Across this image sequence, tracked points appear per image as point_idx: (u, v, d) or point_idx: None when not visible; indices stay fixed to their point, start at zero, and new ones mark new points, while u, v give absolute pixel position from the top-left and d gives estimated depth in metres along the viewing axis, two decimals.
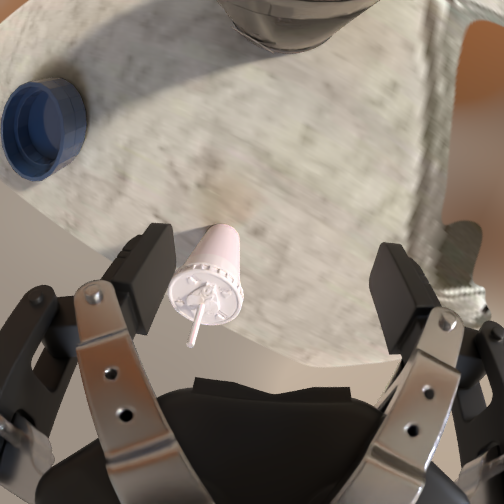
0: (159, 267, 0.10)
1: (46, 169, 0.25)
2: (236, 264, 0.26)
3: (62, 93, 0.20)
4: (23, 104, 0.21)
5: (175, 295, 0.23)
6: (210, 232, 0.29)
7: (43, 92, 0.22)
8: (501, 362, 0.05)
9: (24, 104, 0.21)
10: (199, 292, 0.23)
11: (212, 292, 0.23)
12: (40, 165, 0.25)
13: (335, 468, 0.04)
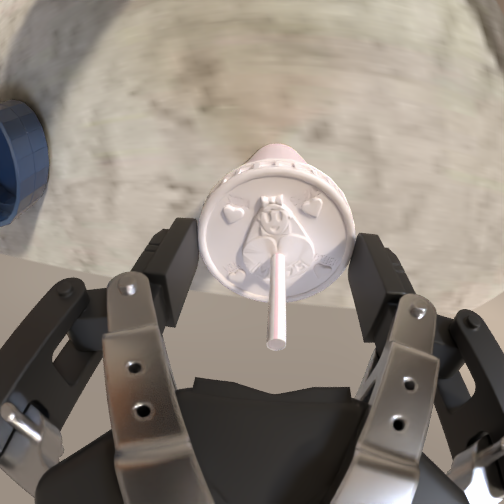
0: (186, 260, 0.10)
1: None
2: None
3: None
4: None
5: (222, 263, 0.12)
6: None
7: None
8: (481, 351, 0.05)
9: None
10: (259, 229, 0.11)
11: (283, 215, 0.10)
12: None
13: (335, 468, 0.04)
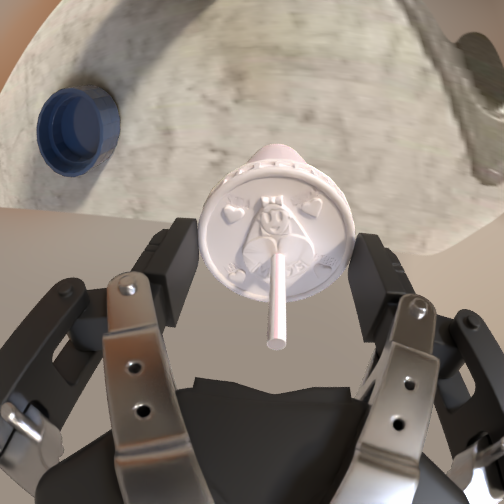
0: (186, 260, 0.10)
1: None
2: None
3: (84, 88, 0.24)
4: (53, 122, 0.27)
5: (222, 264, 0.12)
6: None
7: (67, 106, 0.27)
8: (480, 351, 0.05)
9: (53, 122, 0.27)
10: (259, 229, 0.11)
11: (283, 215, 0.10)
12: (88, 161, 0.30)
13: (335, 468, 0.04)
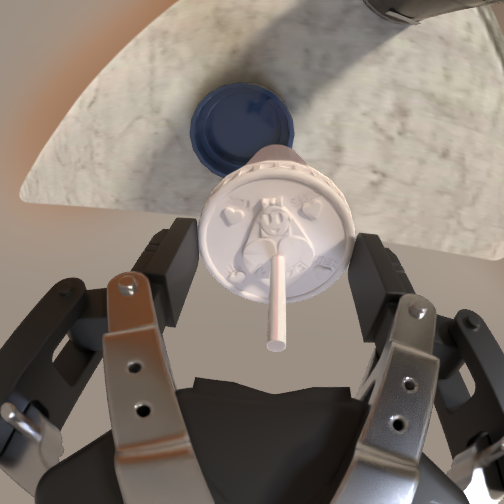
0: (186, 260, 0.10)
1: None
2: None
3: (266, 88, 0.27)
4: (207, 116, 0.29)
5: (222, 265, 0.12)
6: None
7: (222, 101, 0.30)
8: (480, 351, 0.05)
9: (208, 115, 0.29)
10: (259, 231, 0.11)
11: (283, 217, 0.10)
12: None
13: (335, 468, 0.04)
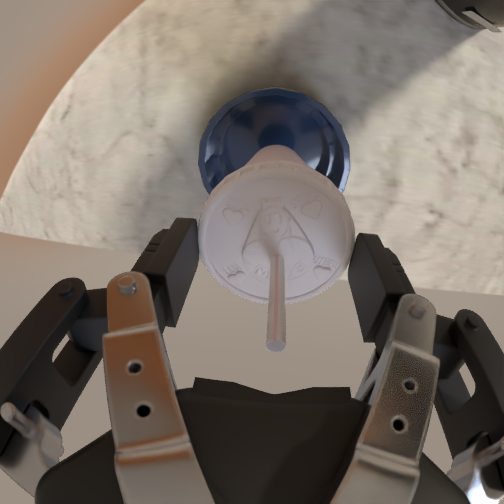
0: (186, 260, 0.10)
1: None
2: None
3: None
4: (223, 134, 0.21)
5: (222, 265, 0.12)
6: None
7: (244, 113, 0.21)
8: (480, 351, 0.05)
9: (224, 134, 0.21)
10: (259, 231, 0.11)
11: (283, 217, 0.10)
12: None
13: (335, 468, 0.04)
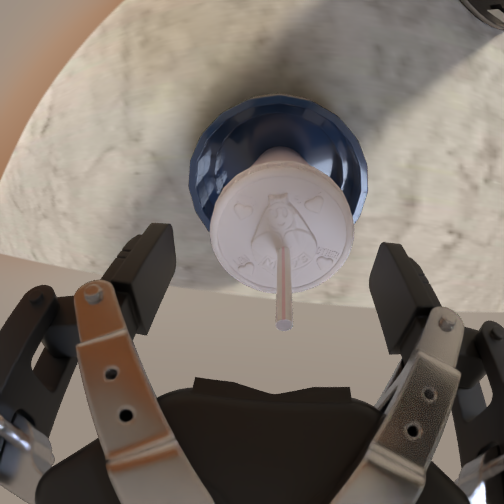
0: (159, 267, 0.10)
1: None
2: None
3: None
4: (218, 151, 0.18)
5: (232, 257, 0.13)
6: None
7: (242, 124, 0.19)
8: (501, 362, 0.05)
9: (219, 150, 0.18)
10: (266, 225, 0.12)
11: (288, 212, 0.11)
12: None
13: (334, 468, 0.04)
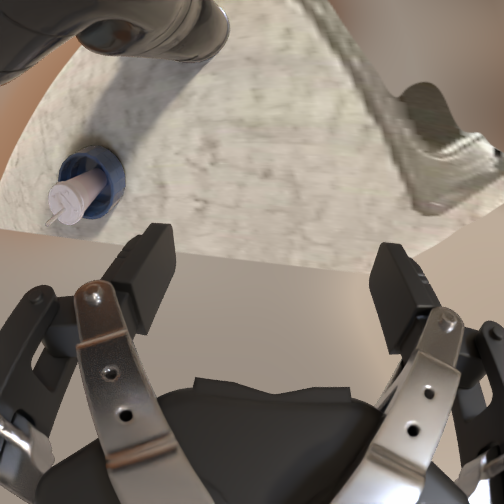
0: (159, 267, 0.10)
1: (107, 206, 0.41)
2: (81, 179, 0.34)
3: (95, 152, 0.35)
4: (71, 174, 0.38)
5: (55, 212, 0.33)
6: None
7: (81, 161, 0.39)
8: (501, 362, 0.05)
9: (71, 174, 0.38)
10: (58, 201, 0.32)
11: (61, 196, 0.32)
12: (102, 206, 0.41)
13: (335, 468, 0.04)
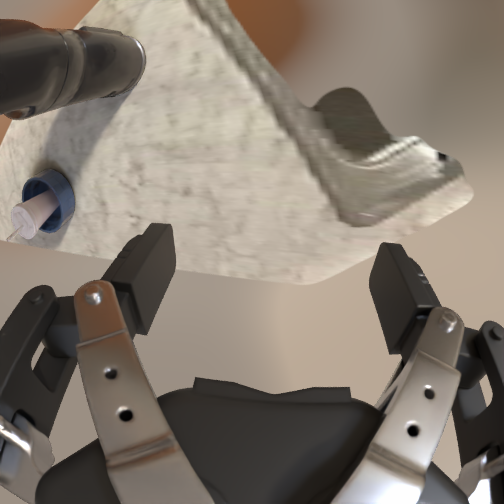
0: (159, 267, 0.10)
1: None
2: (36, 201, 0.37)
3: (47, 176, 0.38)
4: (32, 193, 0.41)
5: (17, 228, 0.36)
6: None
7: (40, 182, 0.42)
8: (501, 362, 0.05)
9: (33, 193, 0.41)
10: (18, 219, 0.35)
11: (19, 216, 0.34)
12: (57, 221, 0.44)
13: (334, 468, 0.04)
